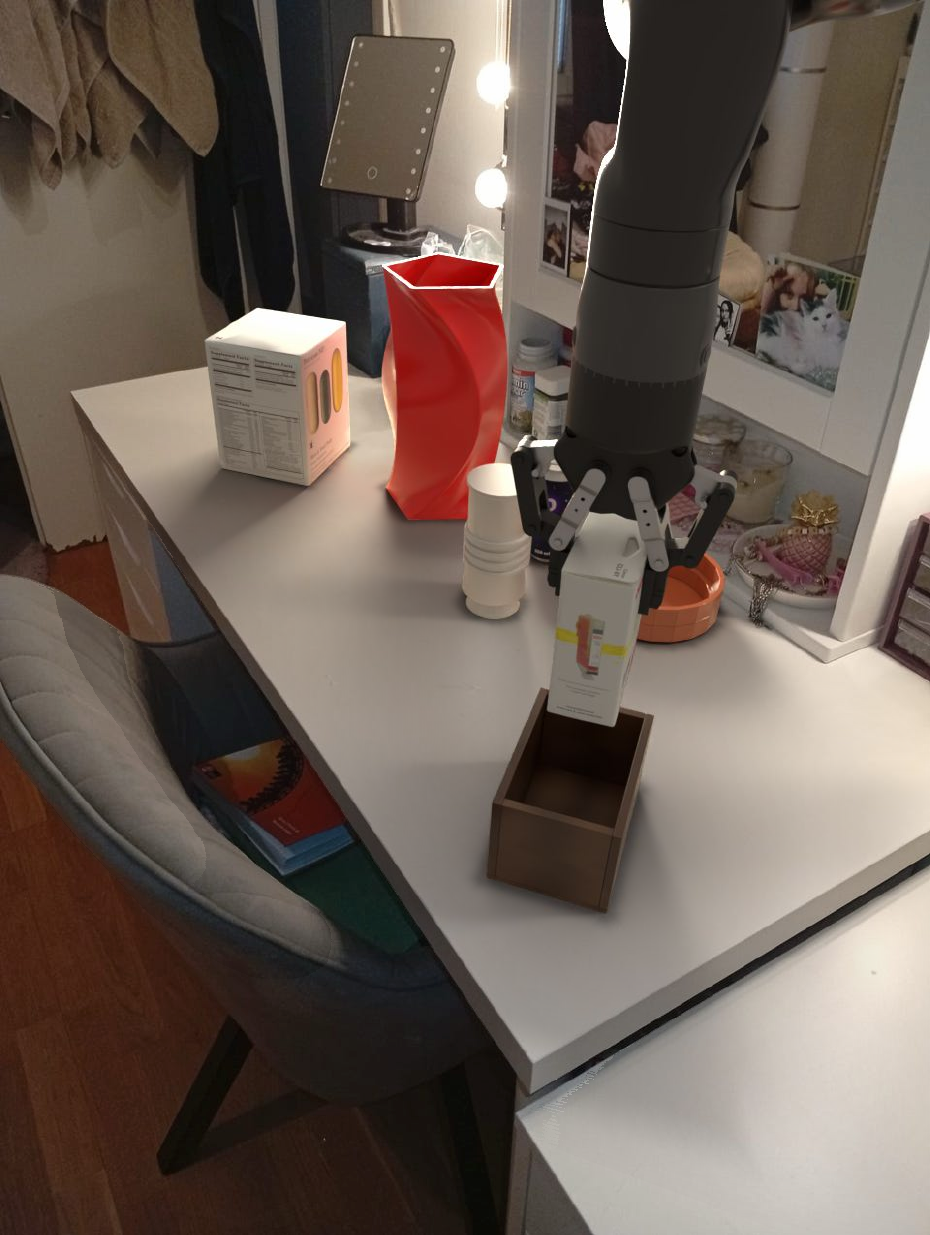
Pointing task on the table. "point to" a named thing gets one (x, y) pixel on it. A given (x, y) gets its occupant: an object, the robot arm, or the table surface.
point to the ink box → (597, 619)
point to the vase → (442, 379)
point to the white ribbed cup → (494, 543)
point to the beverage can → (552, 506)
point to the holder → (567, 804)
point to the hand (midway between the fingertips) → (603, 598)
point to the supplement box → (280, 394)
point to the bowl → (685, 604)
